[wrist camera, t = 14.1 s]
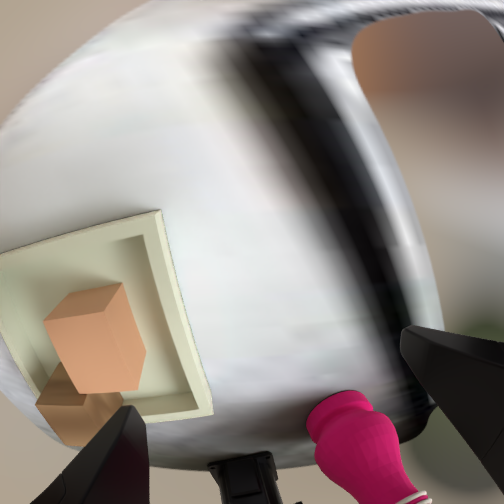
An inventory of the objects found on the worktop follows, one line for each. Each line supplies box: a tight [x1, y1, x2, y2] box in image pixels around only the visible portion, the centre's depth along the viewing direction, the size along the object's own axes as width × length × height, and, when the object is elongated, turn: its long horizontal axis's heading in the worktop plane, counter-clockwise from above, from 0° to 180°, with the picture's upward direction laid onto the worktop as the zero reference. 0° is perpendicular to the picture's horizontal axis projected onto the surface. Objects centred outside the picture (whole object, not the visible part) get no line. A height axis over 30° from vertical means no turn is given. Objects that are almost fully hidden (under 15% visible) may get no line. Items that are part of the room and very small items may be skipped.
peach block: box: [43, 283, 147, 394], centre depth 14 cm, size 4×4×5 cm
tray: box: [0, 210, 214, 423], centre depth 16 cm, size 14×14×3 cm
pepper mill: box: [306, 391, 432, 504], centre depth 13 cm, size 7×7×20 cm
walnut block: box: [35, 362, 124, 447], centre depth 15 cm, size 4×4×5 cm
